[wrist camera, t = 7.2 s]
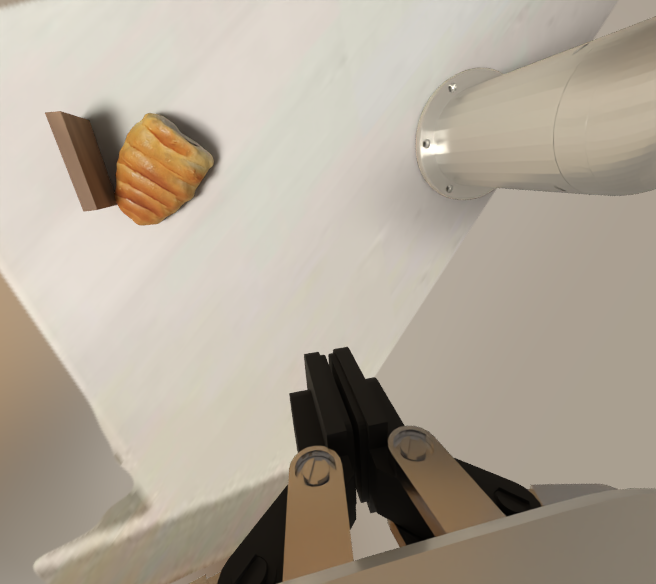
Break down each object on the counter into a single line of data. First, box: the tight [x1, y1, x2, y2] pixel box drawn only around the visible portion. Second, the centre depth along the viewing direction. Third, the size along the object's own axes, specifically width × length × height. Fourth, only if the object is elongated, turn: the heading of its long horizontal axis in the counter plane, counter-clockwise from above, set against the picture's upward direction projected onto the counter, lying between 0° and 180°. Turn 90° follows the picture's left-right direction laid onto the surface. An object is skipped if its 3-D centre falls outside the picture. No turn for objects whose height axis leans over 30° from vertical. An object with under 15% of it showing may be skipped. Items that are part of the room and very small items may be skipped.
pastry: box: [114, 113, 214, 225], centre depth 28 cm, size 9×7×4 cm
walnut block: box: [45, 111, 118, 211], centre depth 27 cm, size 1×7×4 cm, turn 7°
